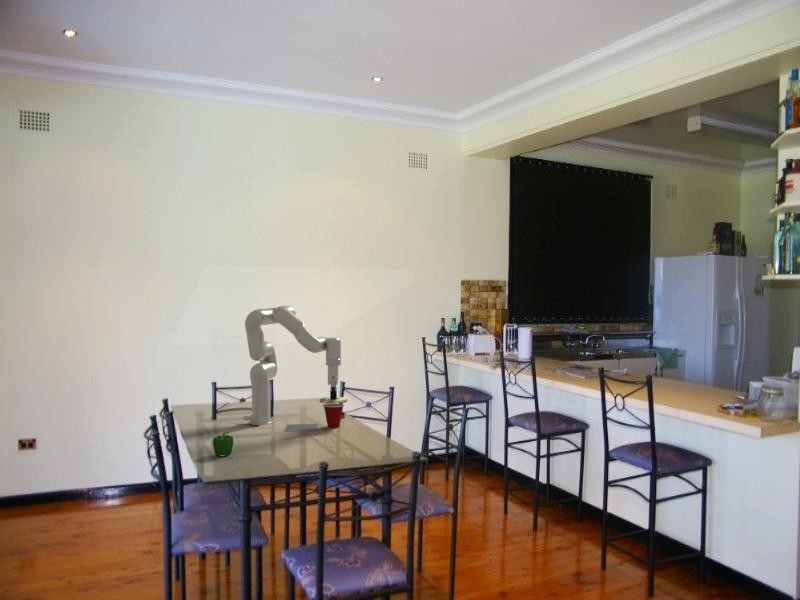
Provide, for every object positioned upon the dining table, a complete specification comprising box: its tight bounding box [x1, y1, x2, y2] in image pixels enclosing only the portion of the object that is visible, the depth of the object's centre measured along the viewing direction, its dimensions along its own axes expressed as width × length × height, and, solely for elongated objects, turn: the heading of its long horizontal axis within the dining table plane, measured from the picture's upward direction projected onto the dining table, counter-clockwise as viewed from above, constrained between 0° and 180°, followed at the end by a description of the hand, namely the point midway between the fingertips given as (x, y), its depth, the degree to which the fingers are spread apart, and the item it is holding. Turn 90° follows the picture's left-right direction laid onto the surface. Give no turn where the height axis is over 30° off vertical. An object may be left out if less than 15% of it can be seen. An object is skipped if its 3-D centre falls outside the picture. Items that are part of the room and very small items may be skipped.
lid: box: [319, 386, 348, 404], centre depth 306 cm, size 14×14×7 cm
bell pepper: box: [212, 430, 234, 456], centre depth 256 cm, size 8×8×10 cm
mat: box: [283, 423, 319, 433], centre depth 304 cm, size 16×16×1 cm
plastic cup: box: [322, 403, 345, 429], centre depth 307 cm, size 11×11×12 cm
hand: (333, 398), depth 306 cm, fingers closed on lid, 3 cm apart
